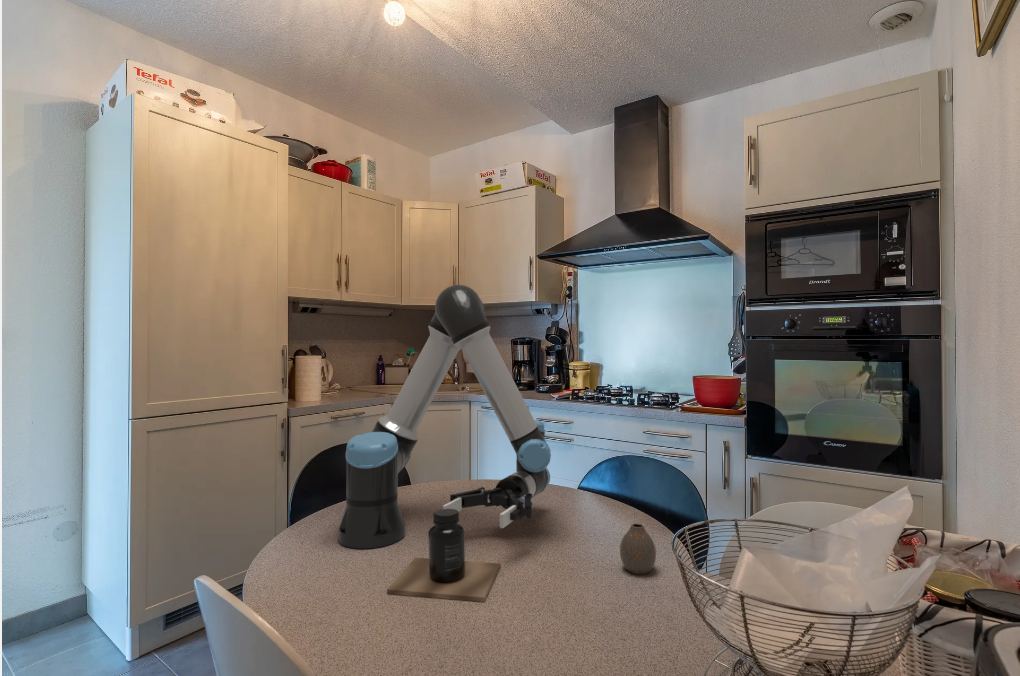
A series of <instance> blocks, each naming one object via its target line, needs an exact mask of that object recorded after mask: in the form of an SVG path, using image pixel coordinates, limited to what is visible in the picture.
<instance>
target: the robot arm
mask: <svg viewBox="0 0 1020 676" xmlns="http://www.w3.org/2000/svg"><path fill="white" fill-rule="evenodd" d="M434 308H435V309H434V311H435V312H434V314H433V316H432V318H431V319H430V322H429V324H428V326H427V327H428V331H429V336H428V338H427V340H426V342H425V344H424V346H423V348H422V349H421V351H420V353H419V355H418V357H417V359H416V360H415V362H414V364H413V366H412V368H411V370H410V372H409V374H408V376H407V377H406V380H405V381H404V383H403V385H402V387H401V389H400V391H399V392H398V394H397V396H396V398H395V399H394V402H393V404H392V406H391V407H390V410H389V411H388V413H387V415H384V416H381V417H379V418H378V419H377V420H376V421H377V422H376V423H375V425H374V426H373V430H371V431H370V432H365V433H362V434H357V435H354V436H353V437H350V439H349V440H348V441H347V444H346V449H345V450H346V451H345V462H346V463H345V469H346V470H345V474H346V475H345V478H346V479H345V481H346V483H345V484H346V486H345V490H346V491H345V493H346V494H345V495H346V497H345V498H346V500H345V501H346V502H345V503H346V504H345V505H346V506H345V509H344V512H343V515H342V517H341V518H342V519H341V521H340V524H339V528H338V534H337V536H338V537H337V538H338V543H339V544H340V545H342V546H344V547H346V548H350V549H361V550H362V549H375V548H382V547H386V546H390V545H393V544H394V543H395V544H396V543H397V542H399V541H401V540H402V539H403V538H404V537H405V536H406V523H405V519H404V516H403V513H402V511H401V508H400V504H399V502H398V500H399V499H398V486H399V485H398V483H399V482H398V481H399V478H398V474H399V473H400V472H401V471H402V470H403V468H405V467H406V465H407V464H408V463H409V461H410V458H411V455H412V451H413V450H414V448H415V446H416V444H417V442H418V440H419V438H420V436H419V433H418V428H419V427H420V424H421V422H422V421H423V419H424V417H425V415H426V413H427V411H428V410H429V407H430V406H431V404H432V402H433V400H434V398H435V396H436V394H437V392H438V391H439V389H440V387H441V385H442V383H443V381H444V379H445V377H446V375H447V374H448V372H449V370H450V368H451V366H452V364H453V363H454V360H455V359H456V357H457V355H458V353H459V351H460V350H461V351H462V353H463V354H464V356H465V359H466V360H467V362H468V363H469V366H470V368H471V370H472V372H473V374H474V375H475V378H476V379H477V380H478V383H479V385H480V387H481V388H482V391H483V392H484V394H485V396H486V398H487V400H488V402H489V404H490V406H491V408H492V410H493V412H494V413H495V415H496V418H497V419H498V421H499V423H500V425H501V427H502V429H503V431H504V433H505V434H506V436H507V438H508V440H509V442H510V444H511V446H512V448H513V450H514V452H515V454H516V457H515V458H516V460H515V461H516V462H515V463H516V470H515V471H516V472H514V473H512V474H509V475H508V476H506V477H504V478H502V479H501V480H499V481H498V483H497V484H496V485H495V487H494V488H492V489H486V487H484V486H481V487H478V488H476V489H471V490H467V491H462V492H458V493H453V494H450V495H449V496H450V498H449V502H447V503H446V504H443V505H442V509H455V510H457V511H458V512H461V511H462V510H463V509H464V508H466V509H467V508H473V507H477V506H478V507H479V506H484V507H493V506H496V507H502V508H503V509H505V510H504V511H502V512H500V514H499V528H500V529H504V528H505V527H507V526H508V525H510V524H511V523H512V522H514V521H517V520H518V519H522V518H523V517H525V518H526V519H532V518H533V509H532V508H533V498H534V497H536V496H537V495H539V494H541V493H542V492H543V491H545V489H546V488H548V486H549V484H550V482H551V473H550V471H549V469H548V466H549V464H550V461H551V458H552V457H551V456H552V454H551V453H552V452H551V449H550V446H549V445H548V444H547V441H546V439H545V435H546V431H545V424H544V422H543V421H541V420H536V419H534V416H533V415H532V413H531V411H530V409H529V408H528V404H526V402H525V400H524V398H523V396H522V394H521V392H520V390H519V389H518V386H517V384H516V382H515V380H514V379H513V376H512V375H511V373H510V370H509V369H508V367H507V365H506V363H505V361H504V360H503V357H502V356H501V354H500V351H499V350H498V348H497V346H496V343H495V342H494V340H493V338H492V336H491V335H490V330H491V325H490V324H489V321H488V320H487V317H486V314H485V306H484V304H483V301H482V299H481V297H480V296H479V294H478V293H477V292H476V291H475V290H474V289H473V288H471V287H470V286H467V285H464V284H454V285H450V286H448V287H445V288H444V289H443V290H442V291H441V292H440V293H439V295H438V296H437V297H436V301H435V306H434ZM488 501H489V502H488Z"/></svg>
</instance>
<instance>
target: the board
mask: <svg viewBox="0 0 1020 676" xmlns="http://www.w3.org/2000/svg"><path fill="white" fill-rule="evenodd" d="M501 567H502V566H501V563H499V562H498V563H497V562H484V561H483V562H482V561H469V560H468V561H467V560H465V574H464V576H463V577H462V578H461V579H459V580H457V581H454V582H449V583H441V582H436V581H434V580H432V579H431V577H430V575H429V557H425V558H424V557H415V558H414V559H413V560H411V562H409V564H407V566H406V567H405V568H404V570H402V571H401V572H400V574H399V575H398V577H396V578H395V580H394V581H393V582H392V583H391V584H389V586H388V588H387V589H386V594H387V595H396V596H407V597H419V598H432V599H444V600H453V601H465V602H466V601H467V602H477V603H485V602H486V601H487V597H488V596H489V594H490V591H491V590H492V587H493V585H494V582H495V581H496V578H497V576H498V575H499V572H500V570H501Z"/></svg>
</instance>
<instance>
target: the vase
mask: <svg viewBox="0 0 1020 676" xmlns="http://www.w3.org/2000/svg"><path fill="white" fill-rule="evenodd" d="M656 549H657V548H656V545H655V542H654V539H653V538H652V536H651V535H650V534H649V533H648V531H647V530H646V529H645V526H644V525H643V524H642V523H638V522H637V523H635V522H634V523H632V524H631V525H630V527H629V529H628V530H627V532H625V534H624V535H623V537H622V539H621V541H620V546H619V557H620V559H621V562H622V565H623V567H624V568H625V569H626V570H627V571H628V572H630V573H632V574H635V575H644V574H645V573H646V574H648V573H649V572H650V571H651V570H652V569H653V568H654V565H655V563H656V559H657V551H656ZM646 574H645V575H646Z"/></svg>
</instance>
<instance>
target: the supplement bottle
mask: <svg viewBox="0 0 1020 676" xmlns="http://www.w3.org/2000/svg"><path fill="white" fill-rule="evenodd" d="M459 512H460V511H459ZM459 512H458V511H457V510H455V509H443V508H442V509H438V510H435V511H434V512H433V515H432V516H433V519H432V522H433V525H432V526H431V527H430V529H429V531H428V558H429V575H430V577H431V579H432V580H434V581H436V582H441V583H449V582H454V581H457V580H459V579H461V578H462V577H463V576H464V574H465V561H466V549H465V547H466V546H465V545H466V543H465V542H466V541H465V529H464V526H463V525H462V524H461V523H459V522H460V513H459Z"/></svg>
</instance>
